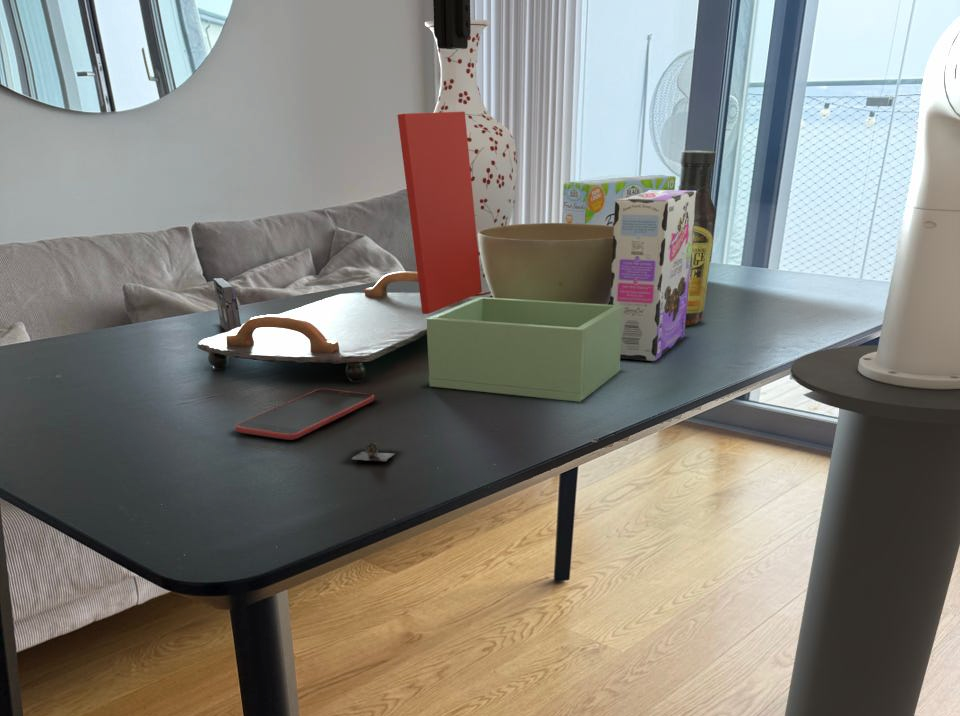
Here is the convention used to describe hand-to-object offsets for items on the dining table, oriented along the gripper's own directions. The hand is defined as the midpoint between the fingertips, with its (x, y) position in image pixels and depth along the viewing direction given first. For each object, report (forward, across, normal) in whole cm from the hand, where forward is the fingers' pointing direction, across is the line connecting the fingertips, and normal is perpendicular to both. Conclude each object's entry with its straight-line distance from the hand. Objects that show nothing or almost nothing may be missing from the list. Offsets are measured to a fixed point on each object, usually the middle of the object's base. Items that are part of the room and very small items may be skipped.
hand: (452, 48), depth 84 cm
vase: (+30, -20, +43) cm, 56 cm away
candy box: (+30, +16, +18) cm, 38 cm away
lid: (+14, -1, 0) cm, 14 cm away
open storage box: (+30, +8, 0) cm, 31 cm away
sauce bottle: (+30, +16, +33) cm, 47 cm away
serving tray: (+30, -18, +8) cm, 36 cm away
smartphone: (+30, -6, -20) cm, 36 cm away
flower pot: (+30, +3, +21) cm, 36 cm away
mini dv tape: (+30, -39, +10) cm, 51 cm away
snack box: (+30, -2, +62) cm, 69 cm away
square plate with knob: (+30, +5, -28) cm, 41 cm away
